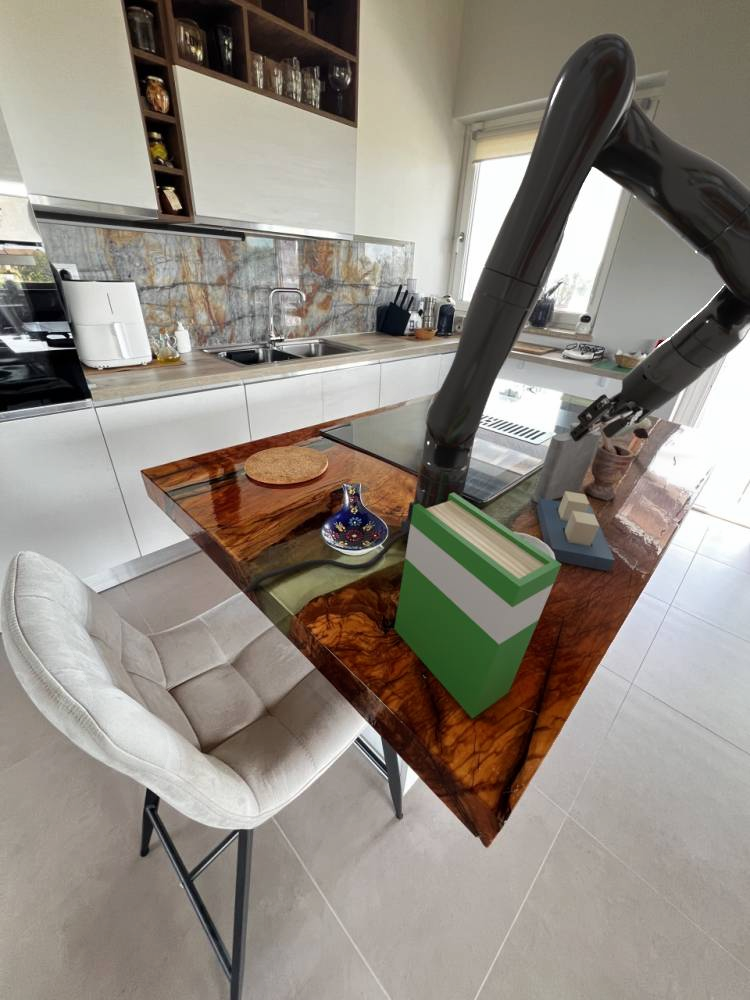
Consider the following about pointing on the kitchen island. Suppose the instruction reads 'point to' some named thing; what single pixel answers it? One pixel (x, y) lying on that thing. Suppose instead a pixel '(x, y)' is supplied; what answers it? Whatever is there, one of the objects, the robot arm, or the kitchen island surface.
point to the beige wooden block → (572, 504)
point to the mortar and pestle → (608, 467)
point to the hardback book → (470, 599)
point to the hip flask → (565, 464)
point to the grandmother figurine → (639, 436)
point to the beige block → (581, 528)
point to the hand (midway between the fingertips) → (590, 435)
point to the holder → (572, 552)
